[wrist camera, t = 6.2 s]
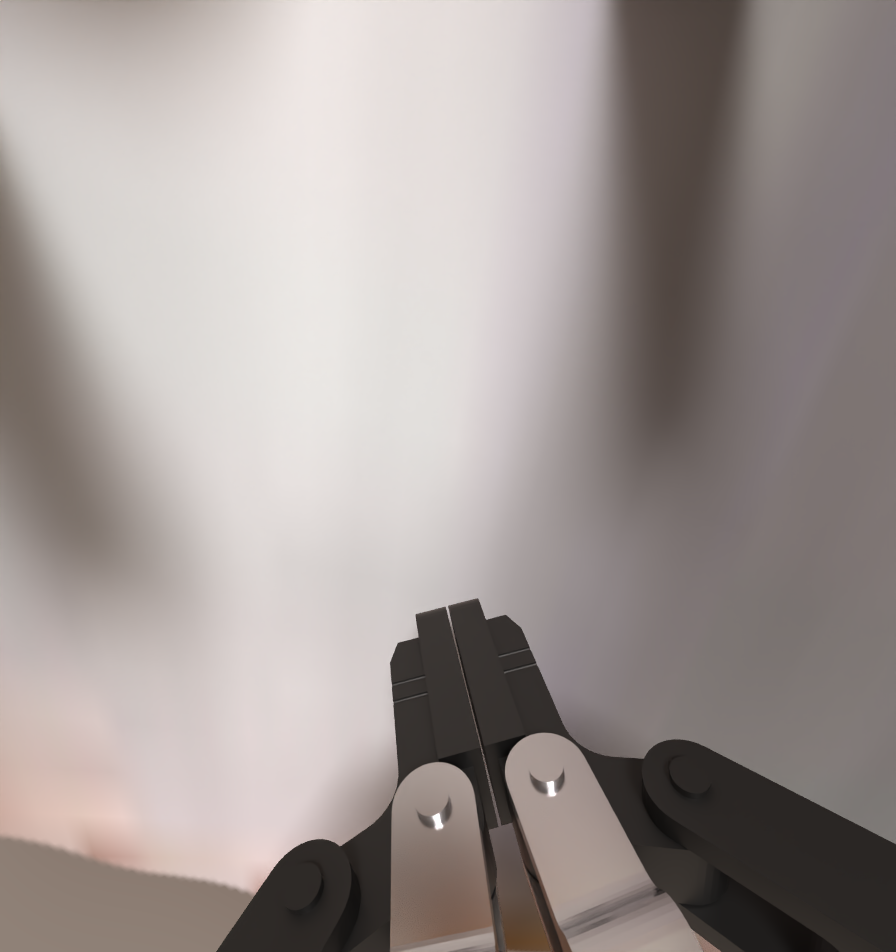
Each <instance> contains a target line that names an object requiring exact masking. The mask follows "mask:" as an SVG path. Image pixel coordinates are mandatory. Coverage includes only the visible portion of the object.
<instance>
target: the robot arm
mask: <svg viewBox="0 0 896 952" xmlns="http://www.w3.org/2000/svg"><path fill="white" fill-rule="evenodd" d="M448 608H449V612H450V617H451V621H452V625H453V630H454V634H455V639H456V643H457V647H458V652H459V656H460V660H461V665H462V669H463V673H464V677H465V681H466V685H467V689H468V693H469V697H470V701H471V705H472V709H473V713H474V717H475V721H476V725H477V729H478V733H479V737H480V741H481V745H482V749H483V753H484V757H485V761H486V765H487V769H488V773H489V777H490V781H491V785H492V789H493V793H494V797H495V801H496V805H497V809H498V813H499V817H500V821H501V825H505V824H508V823H513V827H514V831H515V834H516V838H517V842H518V845H519V849H520V853H521V858H522V863H523V868H524V871H525V875H526V878H527V881H528V884H529V887H530V890H531V893H532V896H533V899H534V902H535V904H536V907H537V910H538V913H539V916H540V919H541V922H542V925H543V928H544V931H545V934H546V937H547V940H548V943H549V946H550V949H551V952H704V951H703V949H702V948H701V946H700V944H699V942H698V940H697V939H696V937H695V935H694V933H693V931H692V930H694V931H695V932H696V933H698V934H699V935H700V936H702V937H703V938H704V939H706V940H707V941H708V942H710V943H711V944H712V945H713V946H715V947H716V948H717V949H719V950H720V951H721V952H896V844H894V843H892V842H890V841H888V840H886V839H884V838H882V837H880V836H878V835H877V834H875V833H873V832H871V831H869V830H867V829H865V828H863V827H861V826H859V825H857V824H855V823H853V822H851V821H849V820H847V819H845V818H843V817H841V816H839V815H837V814H835V813H833V812H832V811H830V810H828V809H826V808H824V807H822V806H820V805H818V804H816V803H814V802H812V801H810V800H808V799H806V798H804V797H802V796H800V795H798V794H796V793H794V792H792V791H790V790H789V789H787V788H785V787H783V786H781V785H779V784H777V783H775V782H773V781H771V780H769V779H767V778H765V777H763V776H761V775H759V774H757V773H755V772H753V771H751V770H749V769H747V768H746V767H744V766H742V765H740V764H738V763H736V762H734V761H732V760H730V759H728V758H726V757H724V756H722V755H720V754H718V753H716V752H714V751H712V750H710V749H708V748H706V747H704V746H702V745H700V744H698V743H695V742H691V741H687V740H667V741H663V742H661V743H658V744H657V745H655V746H653V747H652V748H651V749H650V750H649V751H648V753H647V754H646V756H645V758H644V759H638V758H622V757H610V756H604V755H600V754H597V753H594V752H592V751H589V750H588V749H586V748H584V747H582V746H581V745H580V744H578V743H577V742H576V741H575V740H574V739H573V738H572V737H571V736H570V735H569V733H568V732H567V731H566V729H565V727H564V725H563V723H562V721H561V718H560V716H559V714H558V712H557V709H556V707H555V705H554V702H553V700H552V698H551V695H550V693H549V691H548V689H547V686H546V684H545V682H544V679H543V677H542V675H541V672H540V670H539V668H538V666H537V664H536V661H535V659H534V656H533V654H532V652H531V650H530V648H529V645H528V642H527V640H526V638H525V636H524V633H523V631H522V629H521V628H520V627H519V626H518V625H517V624H516V623H515V622H513V621H512V620H511V619H510V618H509V617H508V616H507V615H503V616H499V617H496V618H492V619H488V620H486V619H485V616H484V613H483V610H482V608H481V605H480V602H479V599H478V598H477V599H473V600H469V601H465V602H461V603H457V604H453V605H450V606H448ZM416 622H417V628H418V635H419V638H415V639H411V640H408V641H404V642H400V643H398V644H397V647H396V649H395V652H394V654H393V657H392V659H391V662H390V667H391V680H392V693H393V702H394V705H393V706H394V718H395V731H396V744H397V757H398V770H399V778H398V784H397V788H396V792H395V794H394V797H393V799H392V801H391V803H390V804H389V806H388V808H387V809H386V810H385V812H384V813H383V814H382V816H381V817H380V818H379V819H378V820H377V821H376V822H375V823H373V824H372V825H371V826H369V827H368V828H367V829H365V830H364V831H362V832H361V833H360V834H358V835H357V836H355V837H354V838H352V839H351V840H349V841H348V842H346V843H345V844H343V845H342V846H338V845H337V844H336V843H334V842H331V841H329V840H324V839H317V840H311V841H307V842H305V843H303V844H300V845H299V846H297V847H295V848H294V849H292V850H291V851H290V852H288V853H287V854H286V855H285V856H284V857H283V858H282V859H281V860H280V861H279V862H278V863H277V865H276V866H275V867H274V869H273V870H272V871H271V873H270V874H269V876H268V877H267V879H266V880H265V882H264V883H263V885H262V886H261V887H260V889H259V890H258V892H257V893H256V895H255V896H254V898H253V899H252V901H251V902H250V903H249V905H248V906H247V908H246V909H245V911H244V912H243V914H242V915H241V917H240V918H239V919H238V921H237V922H236V924H235V925H234V927H233V928H232V930H231V931H230V933H229V934H228V935H227V937H226V938H225V940H224V941H223V943H222V944H221V946H220V947H219V948H218V950H217V951H216V952H507V947H506V940H505V934H504V927H503V921H502V914H501V908H500V901H499V895H498V888H497V882H496V878H497V868H496V862H495V857H494V853H493V848H492V844H491V840H490V835H489V831H488V830H489V829H492V828H496V827H498V823H497V819H496V814H495V810H494V806H493V801H492V797H491V792H490V788H489V784H488V779H487V775H486V770H485V766H484V762H483V757H482V753H481V748H480V744H479V740H478V736H477V732H476V728H475V724H474V720H473V716H472V712H471V708H470V704H469V700H468V696H467V692H466V687H465V683H464V679H463V675H462V671H461V667H460V663H459V659H458V655H457V651H456V647H455V643H454V639H453V635H452V631H451V627H450V623H449V619H448V615H447V610H446V607H442V608H438V609H435V610H431V611H427V612H423V613H419V614H416ZM691 929H692V930H691Z"/></svg>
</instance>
